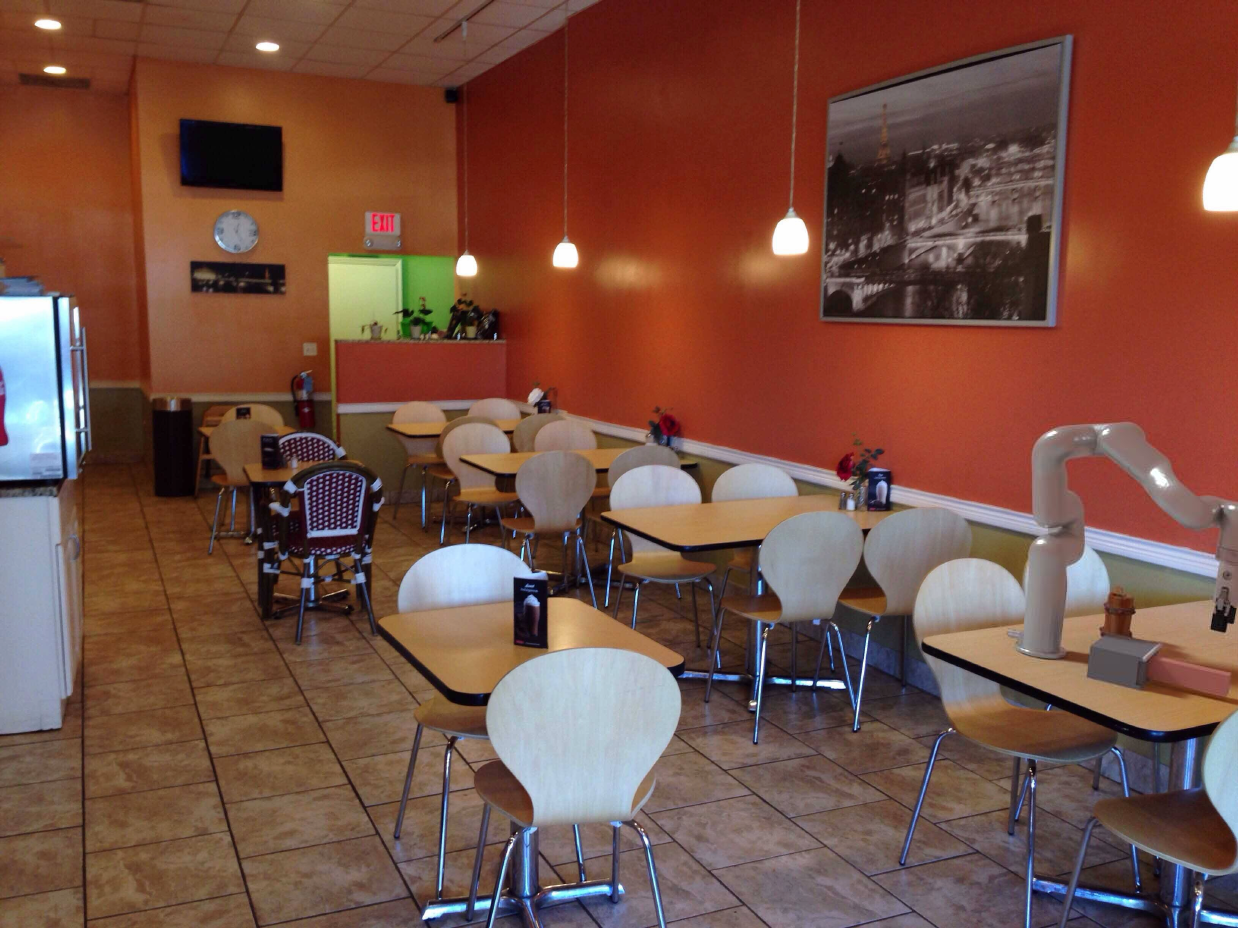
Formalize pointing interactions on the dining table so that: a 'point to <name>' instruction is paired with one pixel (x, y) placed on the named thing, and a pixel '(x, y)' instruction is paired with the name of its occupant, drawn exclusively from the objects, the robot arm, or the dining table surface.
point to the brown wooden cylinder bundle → (1118, 613)
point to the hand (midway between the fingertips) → (1222, 626)
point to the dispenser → (1121, 660)
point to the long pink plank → (1189, 675)
